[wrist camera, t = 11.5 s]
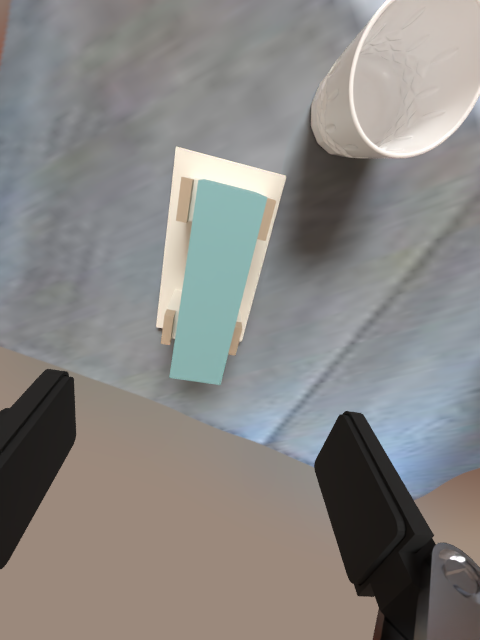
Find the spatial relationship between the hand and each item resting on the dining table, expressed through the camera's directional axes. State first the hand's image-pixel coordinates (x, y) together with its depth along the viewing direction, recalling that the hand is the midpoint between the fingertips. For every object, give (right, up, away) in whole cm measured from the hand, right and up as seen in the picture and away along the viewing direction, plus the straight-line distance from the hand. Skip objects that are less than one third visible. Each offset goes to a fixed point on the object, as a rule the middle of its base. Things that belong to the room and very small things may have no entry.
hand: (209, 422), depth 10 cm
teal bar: (-1, +8, +14) cm, 16 cm away
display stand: (-2, +10, +20) cm, 22 cm away
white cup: (+10, +22, +15) cm, 28 cm away
